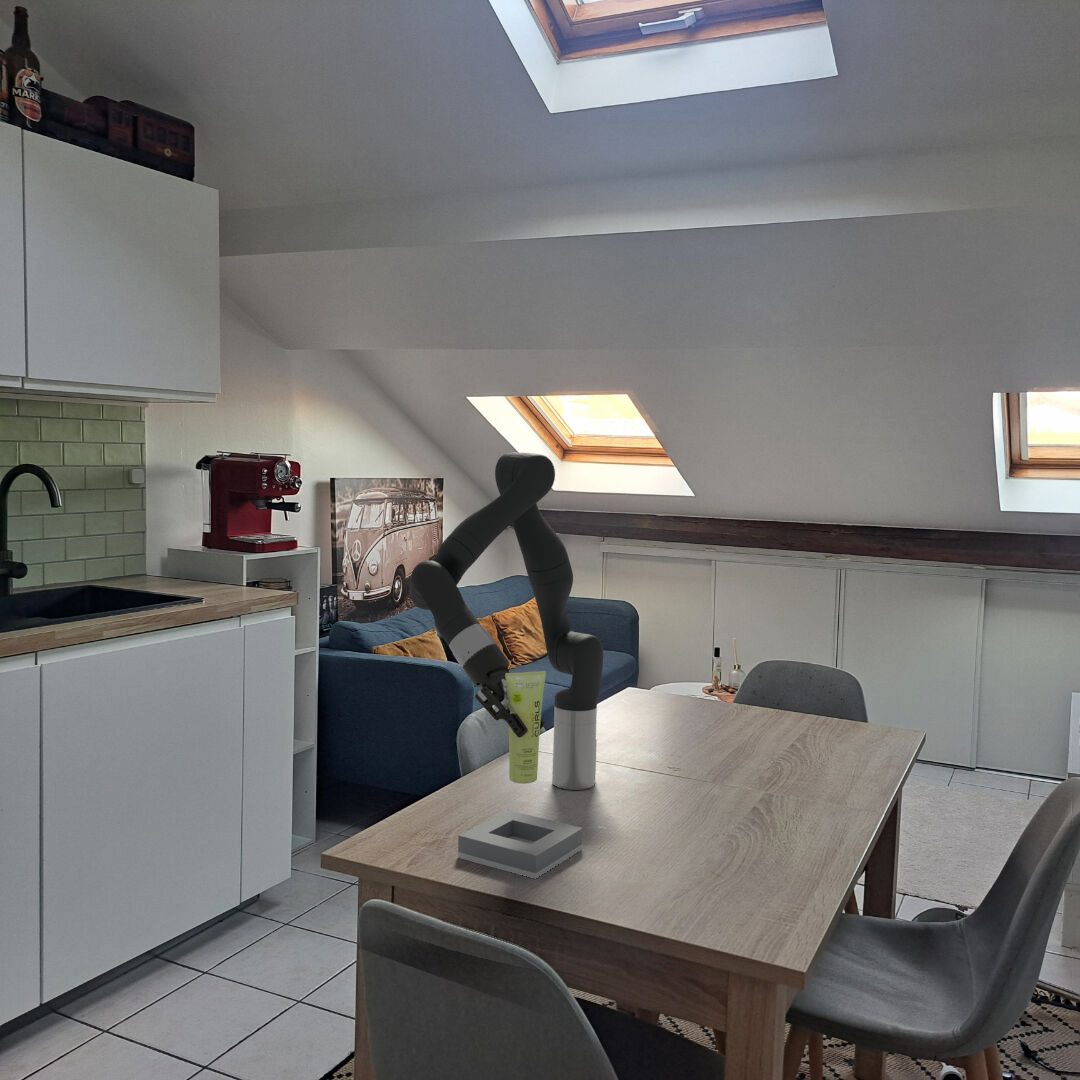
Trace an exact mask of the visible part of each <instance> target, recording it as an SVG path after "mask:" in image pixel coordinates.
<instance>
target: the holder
mask: <svg viewBox="0 0 1080 1080" xmlns="http://www.w3.org/2000/svg"><path fill="white" fill-rule="evenodd" d="M583 832H584V829H583V827H581V826H576V825H572V824H568V823H563V822H560V821H555V820H551V819H547V818H543V817H539V816H534V815H531V814H526V813H523V812H519V811H513V810H509V809H508V810H506V811H503V812H502V813H500V814H498V815H497V816H495V817H492V818H490V819H488V820H486V821H484V822H481V824H479V825H476V826H474V827H472V828H470V829H468V830H466V831H464V832H463V833H460V834H458V841H457V842H458V843H457V847H458V848H457V858H458V859H462V860H465V861H469V862H473V863H476V864H479V865H483V866H487V867H489V868H493V869H498V870H501V871H504V872H507V873H511V872H512V874H515V873H516V875H519V876H522V875H523V876H522V877H526V876H527V878H529V877H530V879H533V878H534V880H537V879H538V878H540V877H542V876H543V875H545V874H546V873H548V872H549V871H551V870H552V868H553V869H554V868H555V866H556V867H557V866H559V865H560V864H562V863H564V862H565V861H566V860H568V859H570V858H572V857H573V856H574V854H575V855H576V854H578V853H579V852H581V851H582V850H583V838H584V837H583V836H584V833H583ZM577 852H578V853H577ZM569 857H570V858H569ZM563 861H564V862H563ZM558 864H559V865H558ZM550 869H551V870H550ZM547 871H548V872H547ZM544 873H545V874H544ZM542 874H543V875H542ZM541 875H542V876H541ZM539 876H540V877H539ZM536 878H537V879H536Z"/></svg>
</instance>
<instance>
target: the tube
mask: <svg viewBox="0 0 1080 1080" xmlns="http://www.w3.org/2000/svg"><path fill="white" fill-rule="evenodd" d="M546 677H547V671H546V670H542V671H541V670H540V671H539V670H538V671H525V672H510V673H505V678H506V686H507V695H508V698H509V699H510V705H511V706H512V707H513V708H514V710H515V713H514V714H516V713H517V714H518V716H519V717H520V719H521V720H522V722H523V723H524V724H525V726H526V727H527V729H528V732H527V733H526V734H525V735H524V736H523V737H520V738H519V737H517V735H516V734H515V733H514V732H513V730H512V728H511V727H510V726H509V725H508V750H509V751H508V755H509V756H508V757H509V758H508V759H509V760H508V761H509V763H508V766H509V768H508V769H509V770H508V773H509V775H508V777H509V781H510V782H513V783H514V784H521V785H523V784H533V783H534V782H536V781H537V780H538V765H539V749H540V746H539V745H540V732H541V729H540V721H541V717H542V709H543V700H544V690H545V689H544V688H545V681H546Z"/></svg>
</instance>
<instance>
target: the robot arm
mask: <svg viewBox="0 0 1080 1080" xmlns="http://www.w3.org/2000/svg"><path fill="white" fill-rule="evenodd" d="M555 478H556V469H555V466H554V464H553V462H552V460H551V459H550V458H549V457H548V456H547V455H544V454H541V453H537V452H536V453H535V452H515V451H514V452H507V453H505V454H502V455H501V456H500V457H499V458H498V459H497V462H496V465H495V470H494V480H495V483H496V488H497V490H498V492H499V496H498V497H496V498H495V499H494V500H493V501H491V502H489V503H488V504H487V505H484V506H483V507H482V508H480V509H478V510H477V511H475V512H473V513H472V514H470V515H469V516H467V517H466V518H465V519H464V520H463V521H461V522H460V523H459V524H458V525H457V526H456V527H455V528H454V530H452V532H451V533H450V534H449V535H447V537H446V538H445V540H443V542H442V543H441V544H440V546H439V548H438V550H437V553H436V555H435V557H434V559H433V560H423V561H421V562H419V563H417V564H416V566H414V568H413V569H412V572H411V574H410V575H411V576H410V583H409V584H410V585H409V595H410V599H411V601H412V603H413V604H414V605H415V606H416V607H417V608H418V609H421V610H424V611H430V613H431V614H432V616H433V620H434V621H433V622H434V625H435V628H436V629H437V631H438V633H439V634H440V636H441V638H442V639H443V640H444V642H445V643H446V644H447V647H449V649H450V651H451V652H452V655H453V657H454V658H455V660H456V661H457V663H458V664H459V665H460V667H461V668H462V670H463V671H464V673H465V674H466V676H467V677H468V678H469V680H470V681H471V683H472V684H473V686H475V687H476V688H481V689H479V690H478V691H477V692H476V693H475V695H474V698H475V699H476V700H477V701H478V703H480V704H481V706H482V707H483V708H484V709H485V710H486V711H487V712H488V713H489V715H490V716H491V717H492V718H493V719H494V720H495V721H498V722H499V721H500V720H502V721H503V722H506V723H507V724H508V727H509V726H510V727H511V728H512V730H513V732H514V733H515V734H516V735H517V737H519V738H520V737H523V736H524V735H525V734H526V733H527V732H528V729H527V727H526V726H525V724H524V723H523V722H522V720H521V719H520V717H519V716H518V714H517V713H516V714H514V713H515V710H514V708H513V707H512V706H511V705H510V699H509V698H508V695H507V686H506V678H505V673H511V672H510V671H509V666H510V660H509V659H508V657H506V655H505V654H504V652H503V650H501V648H500V647H499V646H498V644H497V643H496V641H495V640H494V639H493V637H492V636H491V634H490V633H489V632H488V631H487V630H486V629H485V628H484V626H482V624H481V623H480V622H479V620H478V619H477V617H476V616H475V614H474V613H473V612H472V611H471V609H470V608H469V607H468V606H467V604H466V602H465V600H464V598H463V596H462V593H461V591H460V590H459V588H458V584H459V583H460V581H461V580H462V578H463V576H464V574H465V573H466V572H467V571H468V570H469V569H470V568H471V567H472V565H474V563H475V562H476V561H477V560H478V558H480V557H481V556H482V554H483V553H484V552H485V550H487V548H488V547H489V546H490V545H491V544H492V543H493V542H494V541H495V540H496V539H497V538H498V536H500V535H501V534H502V533H503V532H504V531H506V529H508V527H510V526H511V525H512V528H513V530H514V533H515V536H516V540H517V542H518V547H519V549H520V551H521V555H522V558H523V562H524V566H525V569H526V574H527V577H528V580H529V584H530V586H531V588H532V591H533V594H534V598H535V603H536V607H537V610H538V613H539V614H538V615H539V617H540V623H541V628H542V633H543V638H544V644H545V649H546V655H547V658H548V661H549V663H550V665H551V667H552V668H553V669H554V670H556V671H557V672H559V673H561V674H562V673H563V674H566V675H572V678H571V682H570V686H569V687H568V688H564V689H560V690H558V691H557V692H555V696H554V709H553V710H554V712H553V713H554V714H553V715H554V716H553V717H554V719H553V742H552V743H553V744H552V745H553V747H552V749H553V750H552V773H551V774H552V775H551V776H552V777H551V780H552V781H551V783H552V785H553V786H554V785H555V786H554V787H556V786H557V788H559V789H562V788H563V790H570V791H578V790H579V791H581V790H588V789H590V788H593V787H594V786H595V782H596V771H597V745H598V744H597V715H598V714H597V712H598V710H597V709H598V700H599V696H600V693H601V689H602V679H603V678H602V677H603V666H604V648H603V645H602V642H601V640H600V639H599V638H598V637H597V636H596V635H593V634H590V633H583V632H579V631H578V632H577V631H576V632H575V631H574V630H573V629H572V627H571V625H570V624H571V623H570V621H569V617H568V614H567V613H568V611H567V604H568V602H569V601H568V600H569V598H570V594H571V591H572V588H573V585H574V572H573V569H572V565H571V562H570V558H569V555H568V551H567V548H566V547H565V545H564V543H563V541H562V540H561V538H560V537H559V536H558V534H557V533H556V531H555V530H554V529H553V527H551V525H550V524H549V523H548V521H547V520H546V519H545V518H544V516H543V514H542V513H541V511H540V508H539V506H538V504H537V503H538V502H539V501H541V500H542V499H543V498H544V497H546V495H547V494H548V493H549V492H550V491H551V489H552V487H553V485H554V483H555V480H556V479H555ZM545 726H546V722H545V720H544V718H543V717H542V716H541V721H540V730H542V728H544V727H545Z"/></svg>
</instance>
